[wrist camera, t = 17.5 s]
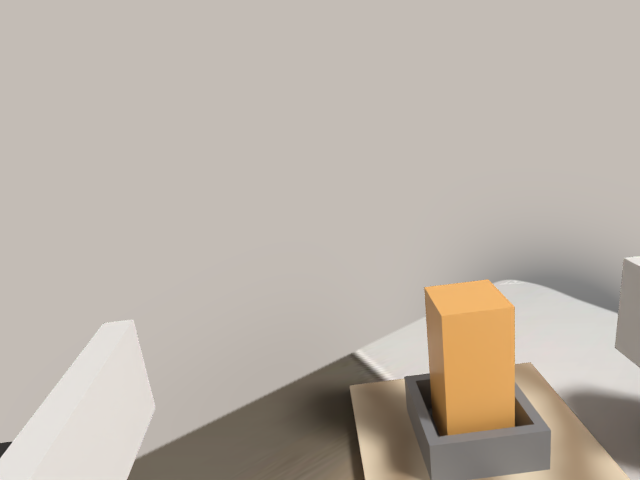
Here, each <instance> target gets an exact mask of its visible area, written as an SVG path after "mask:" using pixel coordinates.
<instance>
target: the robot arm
mask: <svg viewBox="0 0 640 480" xmlns="http://www.w3.org/2000/svg"><path fill="white" fill-rule="evenodd" d="M615 348H616V349H617V350H618V351H620V352H621V353H622V354H623V355H625V356H626V357H627V358H628V359H630V360H631V361H632V362H633V363H635V364H636V365H637V366H638V367H640V256H637V257H629V258H624V262H623V272H622V282H621V292H620V302H619V312H618V322H617V332H616V342H615ZM154 411H155V404H154V400H153V396H152V392H151V388H150V384H149V380H148V376H147V372H146V368H145V364H144V360H143V356H142V352H141V348H140V345H139V340H138V336H137V332H136V328H135V325H134V320H133V319H132V320H124V321H116V322H108V323H103V325H102V326H101V327H100V328H99V330H98V331H97V332H96V334H95V335H94V336H93V338H92V339H91V340H90V342H89V343H88V344H87V345H86V347H85V348H84V349H83V351H82V352H81V353H80V355H79V356H78V357H77V359H76V360H75V361H74V362H73V364H72V365H71V366H70V368H69V369H68V370H67V372H66V373H65V374H64V376H63V377H62V378H61V380H60V381H59V382H58V383H57V385H56V386H55V387H54V389H53V390H52V391H51V392H50V394H49V395H48V396H47V398H46V399H45V400H44V402H43V403H42V404H41V406H40V407H39V408H38V410H37V411H36V412H35V414H34V415H33V416H32V417H31V419H30V420H29V421H28V423H27V424H26V425H25V427H24V428H23V429H22V430H21V432H20V433H19V434H18V436H17V437H16V438H15V440H14V441H13V442H6V443H0V480H127V478H128V475H129V473H130V470H131V468H132V465H133V463H134V460H135V458H136V455H137V453H138V450H139V448H140V445H141V443H142V441H143V438H144V436H145V433H146V430H147V428H148V426H149V423H150V420H151V418H152V416H153V413H154Z"/></svg>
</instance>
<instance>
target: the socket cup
mask: <svg viewBox="0 0 640 480" xmlns="http://www.w3.org/2000/svg"><path fill="white" fill-rule="evenodd" d="M404 379H405V392H406V404H407V411H408V414H409V417H410V420H411V423H412V426H413V429H414V432H415V435H416V438H417V441H418V444H419V447H420V450H421V453H422V456H423V459H424V462H425V465H426V468H427V471H428V474H429V477H430V480H472V479H480V478H488V477H495V476H503V475H511V474H519V473H526V472H534V471H542V470H550V455H551V430H550V428H549V427H548V425H547V424H546V423H545V421H544V420H543V419H542V417H541V416H540V415H539V413H538V412H537V411H536V409H535V408H534V407H533V405H532V404H531V403H530V401H529V400H528V398H527V397H526V396H525V394H524V393H523V392H522V390H521V389H520V388H519V386H518V385H517V384H516V382H515V427H510V428H502V429H494V430H487V431H479V432H471V433H463V434H456V435H448V436H440V435H439V432H438V429H437V427H436V424H435V422H434V419H433V416H432V402H431V385H430V374H422V375H414V376H406V377H404Z"/></svg>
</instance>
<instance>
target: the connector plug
mask: <svg viewBox="0 0 640 480" xmlns="http://www.w3.org/2000/svg"><path fill="white" fill-rule="evenodd" d="M424 289H425V305H426V321H427V337H428V353H429V369H430V385H431V402H432V416H433V419H434V422H435V424H436V427H437V429H438V432H439V435H440V436H448V435H456V434H463V433H471V432H479V431H487V430H494V429H502V428H510V427H515V307H514V306H513V305H512V304H511V303H510V302H509V301H508V300H507V299H506V297H505V296H504V295H503V294H502V293H501V292H500V291H499V290H498V289H497V288H496V287H495V286H494V285H493V284H492V283H491V282H490V281H489V280H480V281H473V282H465V283H456V284H448V285H440V286H431V287H425V288H424Z"/></svg>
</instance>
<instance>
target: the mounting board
mask: <svg viewBox="0 0 640 480" xmlns="http://www.w3.org/2000/svg"><path fill="white" fill-rule="evenodd" d="M515 382H516V384H517V385H518V386H519V388H520V389H521V390H522V392H523V393H524V394H525V396H526V397H527V398H528V400H529V401H530V403H531V404H532V405H533V407H534V408H535V409H536V411H537V412H538V413H539V415H540V416H541V417H542V419H543V420H544V421H545V423H546V424H547V425H548V427H549V428H550V430H551V455H550V470H542V471H534V472H526V473H519V474H511V475H503V476H495V477H488V478H480V479H472V480H630V479H629V477H628V476H627V475H626V474H625V473H624V472H623V470H622V469H621V468H620V467H619V466H618V465H617V463H616V462H615V461H614V460H613V459H612V457H611V456H610V455H609V454H608V453H607V452H606V450H605V449H604V448H603V447H602V446H601V445H600V443H599V442H598V441H597V440H596V439H595V437H594V436H593V435H592V434H591V433H590V432H589V430H588V429H587V428H586V427H585V426H584V425H583V423H582V422H581V421H580V420H579V419H578V418H577V416H576V415H575V414H574V413H573V412H572V410H571V409H570V408H569V407H568V406H567V405H566V403H565V402H564V401H563V400H562V399H561V398H560V396H559V395H558V394H557V393H556V392H555V391H554V389H553V388H552V387H551V386H550V385H549V383H548V382H547V381H546V380H545V379H544V378H543V376H542V375H541V374H540V373H539V372H538V371H537V369H536V368H535V367H534V366H533V365H532V364H531V362H529V363H522V364H515ZM350 393H351V399H352V405H353V411H354V417H355V423H356V429H357V435H358V441H359V447H360V454H361V460H362V466H363V472H364V478H365V480H430V477H429V474H428V471H427V468H426V465H425V462H424V459H423V456H422V453H421V450H420V447H419V444H418V441H417V438H416V435H415V432H414V429H413V426H412V423H411V420H410V417H409V414H408V411H407V404H406V392H405V379H397V380H390V381H382V382H374V383H366V384H359V385H351V386H350Z"/></svg>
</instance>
